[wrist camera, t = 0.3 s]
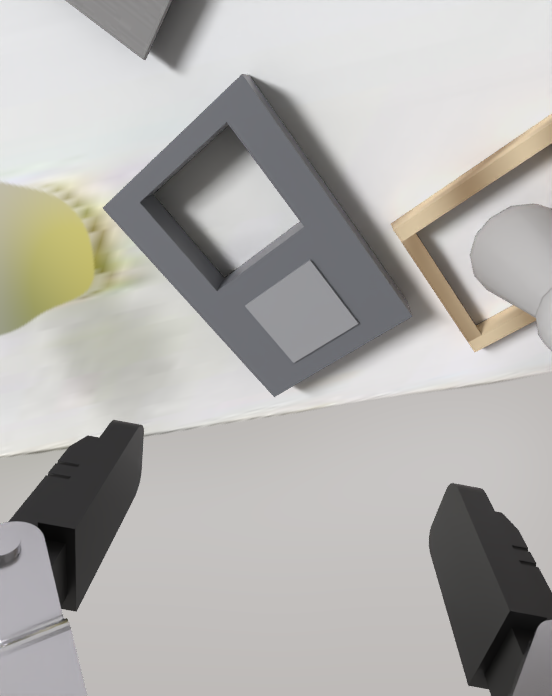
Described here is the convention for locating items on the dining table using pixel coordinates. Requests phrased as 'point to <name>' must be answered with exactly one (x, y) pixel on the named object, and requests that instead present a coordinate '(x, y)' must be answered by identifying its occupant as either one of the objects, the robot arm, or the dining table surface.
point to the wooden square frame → (446, 200)
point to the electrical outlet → (127, 20)
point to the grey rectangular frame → (268, 253)
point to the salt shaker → (518, 261)
